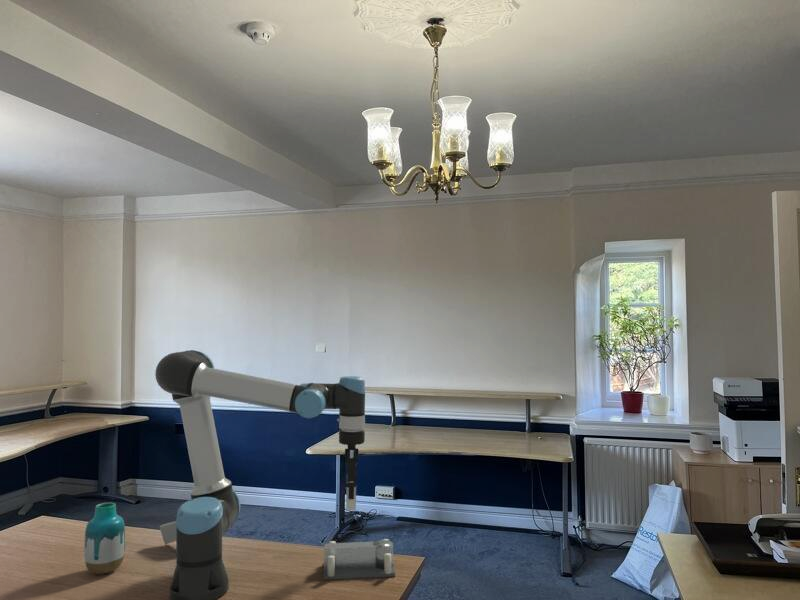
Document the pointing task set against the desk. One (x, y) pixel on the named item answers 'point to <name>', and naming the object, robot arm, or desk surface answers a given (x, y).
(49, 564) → the desk surface
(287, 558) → the desk surface
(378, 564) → the grey ball-ended handle
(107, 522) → the vase
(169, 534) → the white stapler
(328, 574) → the pad
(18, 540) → the desk surface
